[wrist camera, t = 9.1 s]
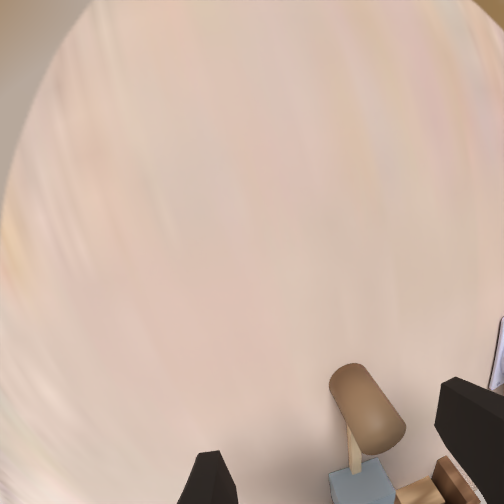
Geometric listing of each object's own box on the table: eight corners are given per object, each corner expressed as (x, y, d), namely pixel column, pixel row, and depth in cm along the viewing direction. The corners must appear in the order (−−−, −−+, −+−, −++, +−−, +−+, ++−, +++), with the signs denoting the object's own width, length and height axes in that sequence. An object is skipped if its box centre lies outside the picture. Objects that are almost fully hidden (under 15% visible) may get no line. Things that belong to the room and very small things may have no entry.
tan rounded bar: (378, 354, 20) (421, 405, 14) (375, 482, 23) (396, 525, 18) (314, 374, 20) (343, 435, 14) (331, 497, 23) (347, 543, 17)
